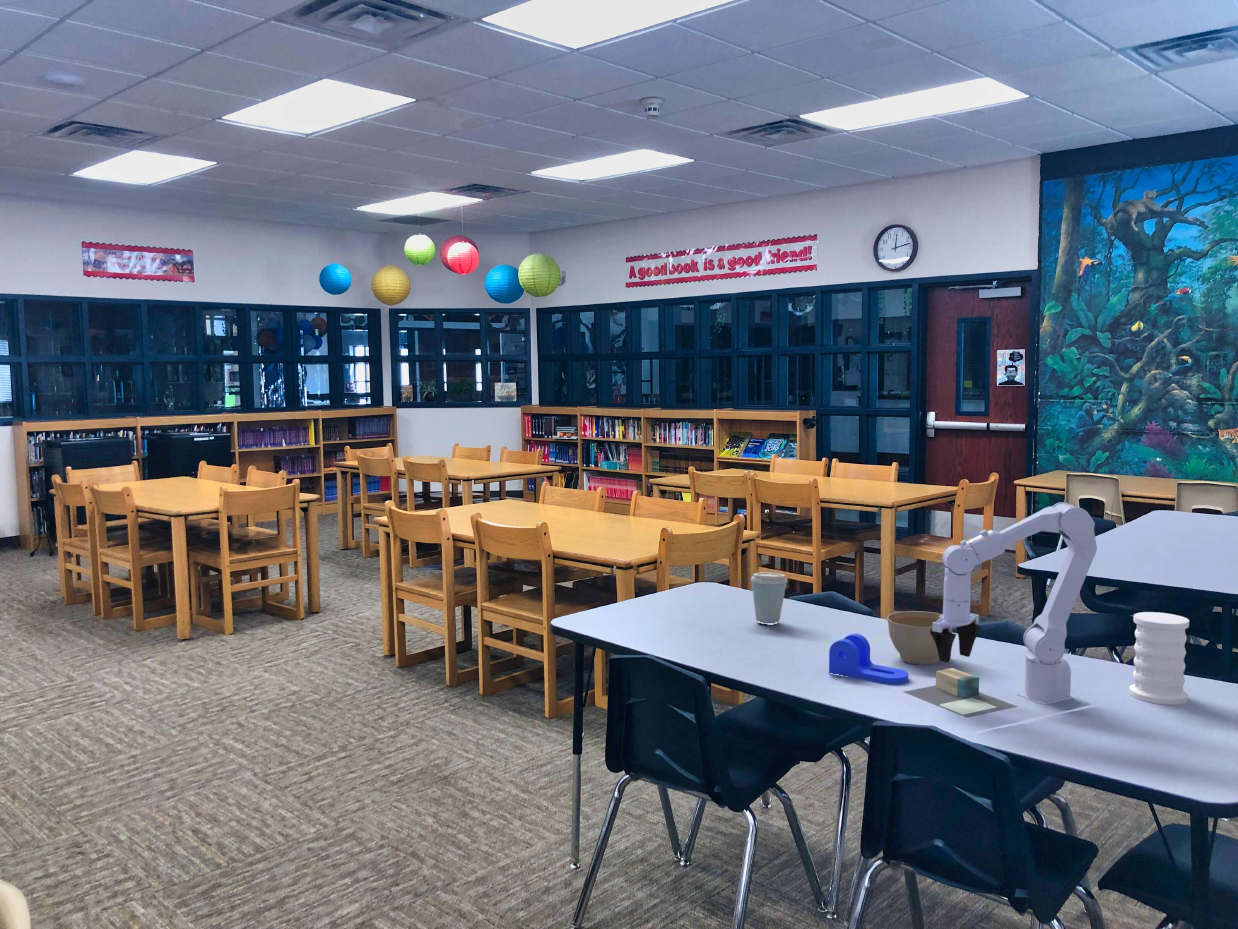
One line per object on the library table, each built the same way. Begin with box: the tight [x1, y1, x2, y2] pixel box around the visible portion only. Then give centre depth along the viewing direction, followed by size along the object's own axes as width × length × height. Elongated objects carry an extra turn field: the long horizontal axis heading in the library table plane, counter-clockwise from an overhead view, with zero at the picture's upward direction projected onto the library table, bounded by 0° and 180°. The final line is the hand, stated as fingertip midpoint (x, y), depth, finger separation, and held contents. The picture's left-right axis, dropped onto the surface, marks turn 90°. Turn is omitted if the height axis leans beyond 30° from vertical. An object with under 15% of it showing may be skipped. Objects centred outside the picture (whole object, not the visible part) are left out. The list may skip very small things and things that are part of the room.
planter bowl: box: [886, 610, 953, 665], centre depth 245 cm, size 16×16×11 cm
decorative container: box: [1128, 611, 1190, 706], centre depth 216 cm, size 12×12×18 cm
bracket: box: [828, 633, 909, 685], centre depth 232 cm, size 18×8×9 cm, turn 52°
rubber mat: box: [903, 684, 1018, 718], centre depth 215 cm, size 15×19×1 cm
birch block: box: [935, 667, 980, 698], centre depth 220 cm, size 5×8×4 cm, turn 26°
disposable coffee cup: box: [750, 572, 788, 623], centre depth 284 cm, size 11×11×15 cm
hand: (954, 658), depth 217 cm, fingers open, 7 cm apart
